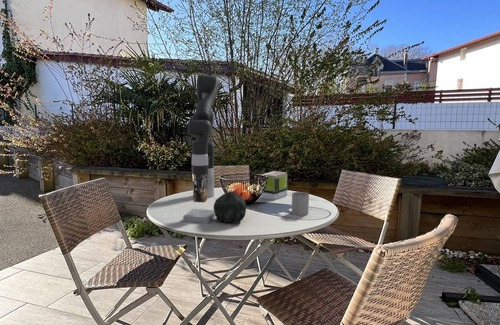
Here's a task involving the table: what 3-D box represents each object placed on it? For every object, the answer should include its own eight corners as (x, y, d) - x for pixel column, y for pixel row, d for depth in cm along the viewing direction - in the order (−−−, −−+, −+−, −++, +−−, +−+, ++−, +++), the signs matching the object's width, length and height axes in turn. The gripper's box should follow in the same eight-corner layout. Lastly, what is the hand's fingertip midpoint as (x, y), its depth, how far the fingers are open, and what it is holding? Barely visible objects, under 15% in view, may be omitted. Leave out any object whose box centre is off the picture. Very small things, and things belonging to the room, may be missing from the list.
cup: (297, 216, 151) (298, 196, 150) (288, 212, 159) (288, 192, 157) (311, 214, 155) (312, 194, 154) (301, 210, 163) (302, 191, 161)
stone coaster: (192, 213, 154) (192, 208, 154) (216, 215, 152) (216, 210, 152) (183, 221, 142) (183, 216, 142) (208, 223, 140) (208, 217, 140)
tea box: (273, 193, 200) (274, 170, 198) (287, 195, 194) (288, 172, 192) (260, 197, 188) (260, 173, 186) (274, 200, 182) (275, 175, 180)
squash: (229, 202, 155) (217, 183, 145) (255, 207, 148) (245, 188, 138) (215, 226, 148) (202, 208, 138) (242, 233, 140) (231, 215, 130)
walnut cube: (207, 199, 148) (207, 189, 147) (203, 202, 143) (203, 191, 142) (197, 199, 149) (196, 189, 148) (193, 201, 144) (193, 191, 143)
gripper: (203, 166, 136) (203, 204, 138) (212, 162, 150) (212, 196, 152) (186, 165, 137) (187, 203, 139) (197, 161, 151) (197, 196, 154)
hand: (200, 199), depth 146 cm, fingers closed on walnut cube, 5 cm apart
